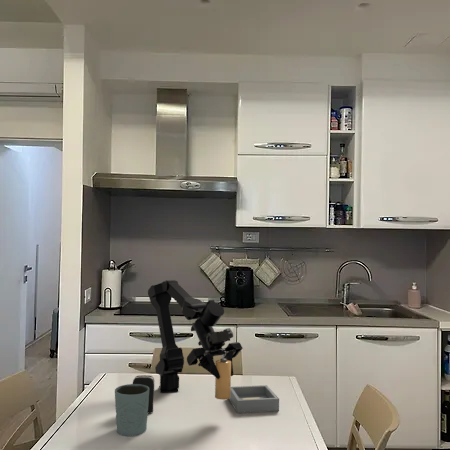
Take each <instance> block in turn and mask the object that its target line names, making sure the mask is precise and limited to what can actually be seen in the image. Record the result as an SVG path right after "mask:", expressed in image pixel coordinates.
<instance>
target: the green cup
mask: <svg viewBox="0 0 450 450" xmlns="http://www.w3.org/2000/svg"><path fill="white" fill-rule="evenodd" d="M114 400H115V401H114V402H115V420H116V421H115V424H116V432H117V434H118V435H120V436H123V437H136V436H137V437H138V436H141V435H143V434H144V433H145V432H146V431H147V427H148V424H147V423H148V414H149V413H148V412H147V411H148V402H149V387H148V386H146V385H141V384H133V383H129V384H128V383H127V384H123V385H119V386H117V387H116V388H114Z"/></svg>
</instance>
